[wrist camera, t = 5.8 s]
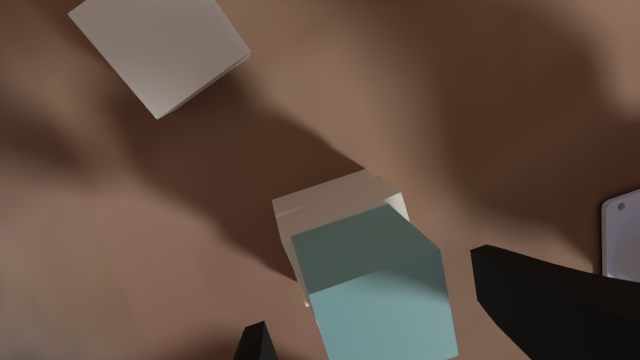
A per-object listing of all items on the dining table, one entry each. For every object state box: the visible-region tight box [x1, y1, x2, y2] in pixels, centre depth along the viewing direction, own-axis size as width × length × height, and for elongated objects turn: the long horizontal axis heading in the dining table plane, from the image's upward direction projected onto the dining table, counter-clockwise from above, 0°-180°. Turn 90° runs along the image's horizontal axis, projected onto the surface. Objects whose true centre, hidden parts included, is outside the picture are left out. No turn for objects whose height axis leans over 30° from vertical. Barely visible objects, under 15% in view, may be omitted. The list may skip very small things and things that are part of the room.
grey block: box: [68, 0, 251, 119], centre depth 14 cm, size 4×4×4 cm
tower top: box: [276, 176, 410, 327], centre depth 16 cm, size 5×5×2 cm
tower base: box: [272, 169, 375, 307], centre depth 19 cm, size 5×5×2 cm
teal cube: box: [291, 204, 458, 360], centre depth 13 cm, size 4×4×4 cm
